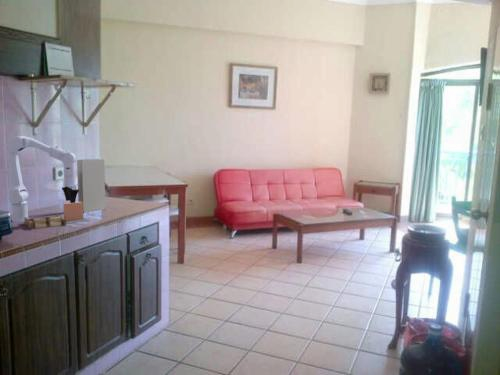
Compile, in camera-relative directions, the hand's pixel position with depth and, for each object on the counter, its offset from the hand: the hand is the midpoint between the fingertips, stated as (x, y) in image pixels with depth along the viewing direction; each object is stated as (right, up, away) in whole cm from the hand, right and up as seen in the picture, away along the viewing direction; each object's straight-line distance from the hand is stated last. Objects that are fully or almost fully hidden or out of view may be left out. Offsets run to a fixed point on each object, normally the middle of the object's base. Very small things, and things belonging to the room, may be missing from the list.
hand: (70, 201), depth 238 cm
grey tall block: (+1, -6, +30) cm, 30 cm away
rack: (-9, -12, -10) cm, 17 cm away
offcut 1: (-9, -12, -15) cm, 21 cm away
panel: (+1, -10, +2) cm, 10 cm away
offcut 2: (-3, -11, -11) cm, 16 cm away
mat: (+1, -10, +2) cm, 10 cm away
